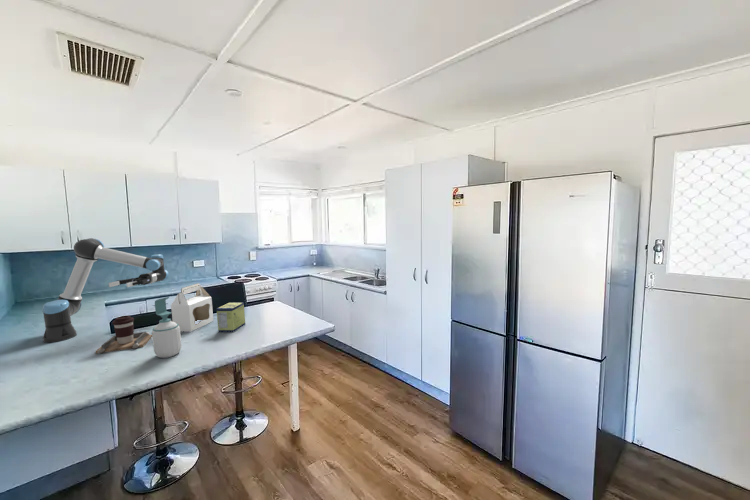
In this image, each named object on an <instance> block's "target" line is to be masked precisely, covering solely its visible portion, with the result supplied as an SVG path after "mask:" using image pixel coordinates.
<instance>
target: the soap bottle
mask: <svg viewBox="0 0 750 500" xmlns="http://www.w3.org/2000/svg"><path fill="white" fill-rule="evenodd" d="M167 299H170V296H167V297H163V298H158V299H156V300H154V309H155V314H156V315H157V316H159V317H160V318H162V319H159V321H158V322H159V323H158V324H156V325H155V326H154V327H153V328H152V331H151V335H152V344H153V345H152V346H153V353H154V354H155V356H156V358H160V359H167V358H171V357H174V356H177V354H179V353H180V352H181V349H182V339H181V338H182V337H181V331H180V327H179V326H178V325H179V324H177V323H175V322H173V321H172V318H168V317H169V315H172V311H168V310H167V303H166V302H167Z"/></svg>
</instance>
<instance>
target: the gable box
mask: <svg viewBox="0 0 750 500" xmlns="http://www.w3.org/2000/svg"><path fill="white" fill-rule="evenodd" d="M193 292H196V293H195V296H193V297H190V298H186V297H185V295H186V294H190V293H193ZM170 308H171V311H170V312H171V313H172V314H171V321H172V322H175V323H177V324H179V325H178V326H179V327H180V332H183V331H184V332H186V333H187V332H188V333H191V332H193V331H195V330H198V329H200V328H202V327H204V326H206V325H208V324H210V323H212V322H214V313H213V311H214V310H213V299H212V296H211V295H210V294H209V293H208V292H207V291H206V289H205V288H204V287H203V286H202V284H200V283H199V282H198V283H194V284H191V285H188V286H184V287H181V289H180V292H179V293H177V295H176V297H175V298H174V300H173V301H172V303H171V304H170ZM197 320H202V321H200V322H199V323H198V324H195V321H197Z"/></svg>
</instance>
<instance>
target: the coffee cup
mask: <svg viewBox="0 0 750 500" xmlns="http://www.w3.org/2000/svg"><path fill="white" fill-rule="evenodd" d="M134 321H135V318H134V317H131V315H123V316H117V317H116V318H115V319H114V320H112V323H111V324H112V325H113V326H114V328H113V329H114V334H115V335H116V337H117V342H118V344H126V343H130V342H132V341H133V334H134V333H135V332H134ZM115 335H114V336H115Z"/></svg>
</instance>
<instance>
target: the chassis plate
mask: <svg viewBox="0 0 750 500" xmlns="http://www.w3.org/2000/svg"><path fill="white" fill-rule="evenodd" d="M151 337H152V334H150V332H149V331H148V332H147V331H139V332H134V334H133V341H132V342H130V343H126V344H118V342H117V337H116V335H112V337H110V338H109V339H108V340H107V341H105V342H104V343H103V344H101V346H99V348H98V349H96V350H95V354H103V353H109V352H110V353H111V352H116V351H125V350H129V349H131V350H132V349H139V348H143V347H145V346H146V344H148V342H149V341H150V340H151V339H152V338H153V337H152V338H151Z"/></svg>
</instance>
